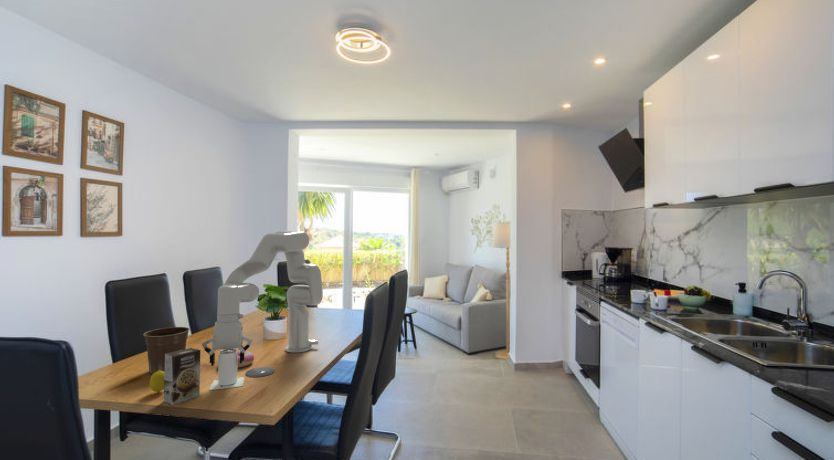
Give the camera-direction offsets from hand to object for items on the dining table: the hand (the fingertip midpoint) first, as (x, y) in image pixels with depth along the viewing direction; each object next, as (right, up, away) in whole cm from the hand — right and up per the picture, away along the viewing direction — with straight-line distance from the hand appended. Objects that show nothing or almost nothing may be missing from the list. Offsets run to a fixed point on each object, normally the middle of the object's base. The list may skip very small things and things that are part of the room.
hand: (227, 363), depth 148 cm
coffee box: (-9, -8, -13) cm, 18 cm away
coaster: (+8, -8, +12) cm, 17 cm away
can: (0, -8, 0) cm, 8 cm away
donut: (-6, -8, +22) cm, 24 cm away
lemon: (-20, -8, -9) cm, 23 cm away
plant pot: (-32, -8, +15) cm, 36 cm away
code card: (0, -8, 0) cm, 8 cm away
